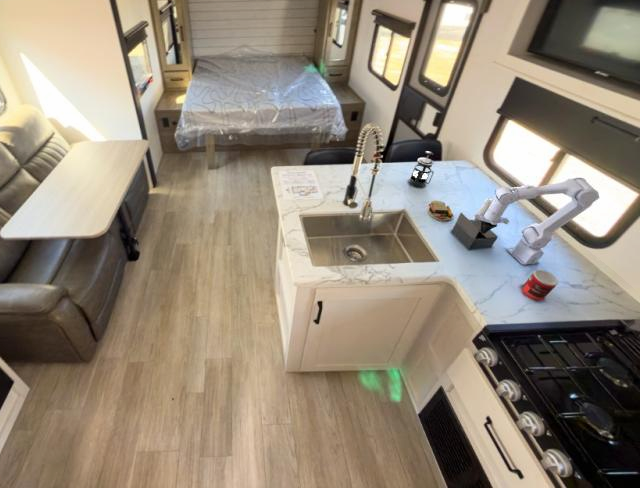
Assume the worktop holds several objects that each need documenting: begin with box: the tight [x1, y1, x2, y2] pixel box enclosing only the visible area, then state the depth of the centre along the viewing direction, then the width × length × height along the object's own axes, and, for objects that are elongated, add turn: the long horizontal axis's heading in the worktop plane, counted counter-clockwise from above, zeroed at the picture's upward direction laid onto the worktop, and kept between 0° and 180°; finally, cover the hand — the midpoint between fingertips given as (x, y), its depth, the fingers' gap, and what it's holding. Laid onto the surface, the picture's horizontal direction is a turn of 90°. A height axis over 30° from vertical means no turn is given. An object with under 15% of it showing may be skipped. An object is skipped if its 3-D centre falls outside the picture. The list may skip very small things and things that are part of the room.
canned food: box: [521, 269, 559, 302], centre depth 134 cm, size 8×8×11 cm
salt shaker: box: [475, 198, 494, 215], centre depth 172 cm, size 6×6×13 cm
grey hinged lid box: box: [451, 219, 498, 250], centre depth 162 cm, size 13×13×7 cm
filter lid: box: [455, 212, 480, 239], centre depth 157 cm, size 13×6×1 cm
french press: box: [408, 150, 435, 189], centre depth 197 cm, size 12×9×23 cm
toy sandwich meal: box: [427, 200, 454, 222], centre depth 178 cm, size 12×14×5 cm
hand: (482, 232), depth 153 cm, fingers closed
